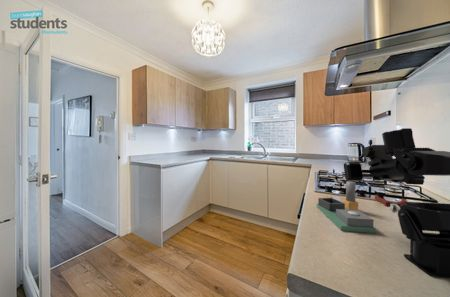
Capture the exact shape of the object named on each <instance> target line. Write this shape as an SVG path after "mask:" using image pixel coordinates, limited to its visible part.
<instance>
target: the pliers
mask: <svg viewBox="0 0 450 297" xmlns="http://www.w3.org/2000/svg"><path fill="white" fill-rule="evenodd" d="M375 199H376V200H377V201H376V200H375ZM374 200H375V201H376V202H378V203H380V204H382V205H384V207H389V209H390V211H391V212H393V211H394V209H395V210H396V211H397V212H398V211H399V210H400V208H401V207H400V206H401V205H405V204H406V202H408V200H406V199H405V198H401V200H400V201H396V202H393V201H390V200H387V199H385V198H382V197H380V196H379V195H378V194H375V195H374ZM406 205H407V204H406Z"/></svg>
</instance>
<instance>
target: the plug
mask: <svg viewBox="0 0 450 297" xmlns="http://www.w3.org/2000/svg"><path fill="white" fill-rule="evenodd" d="M356 184H357V183H356V181H347V180H346V182H345V185H346V188H345V189H346V190H345V198H343V199H342V200H343V201H342V202H343V203H345V208H347V209H348V210H359V202H358V201H356V186H357V185H356Z"/></svg>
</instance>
